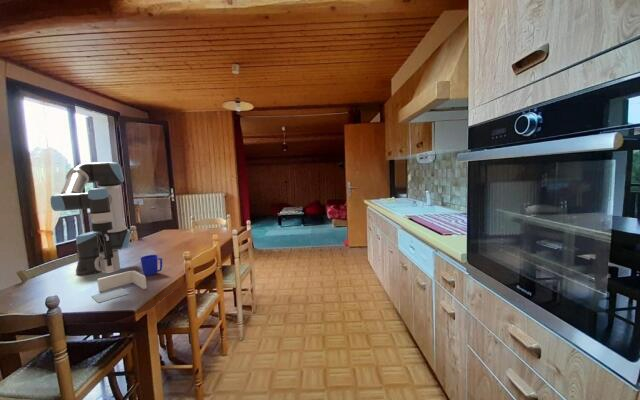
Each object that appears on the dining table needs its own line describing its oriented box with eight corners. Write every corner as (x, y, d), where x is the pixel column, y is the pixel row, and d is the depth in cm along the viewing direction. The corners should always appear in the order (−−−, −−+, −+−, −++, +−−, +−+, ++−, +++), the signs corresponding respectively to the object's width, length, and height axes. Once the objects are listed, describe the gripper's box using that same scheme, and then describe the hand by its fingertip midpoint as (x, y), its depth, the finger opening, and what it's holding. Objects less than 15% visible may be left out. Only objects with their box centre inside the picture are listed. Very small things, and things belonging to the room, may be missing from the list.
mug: (157, 277, 160) (155, 259, 159) (138, 276, 162) (136, 258, 161) (168, 271, 168) (166, 254, 167) (150, 271, 170) (148, 254, 169)
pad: (91, 296, 137) (91, 295, 137) (121, 288, 146) (121, 287, 146) (98, 303, 129) (97, 302, 129) (129, 293, 138) (129, 293, 138)
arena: (98, 290, 143) (97, 278, 143) (135, 280, 155) (133, 269, 155) (108, 299, 132) (106, 286, 132) (146, 288, 144) (145, 276, 144)
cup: (123, 268, 139) (121, 250, 138) (101, 275, 130) (98, 256, 129) (114, 267, 142) (111, 249, 141) (91, 274, 133) (88, 255, 132)
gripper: (86, 221, 138) (92, 269, 140) (97, 225, 124) (103, 277, 127) (105, 219, 143) (111, 265, 145) (118, 222, 130) (123, 272, 132)
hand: (107, 270), depth 136 cm, fingers closed on cup, 7 cm apart
